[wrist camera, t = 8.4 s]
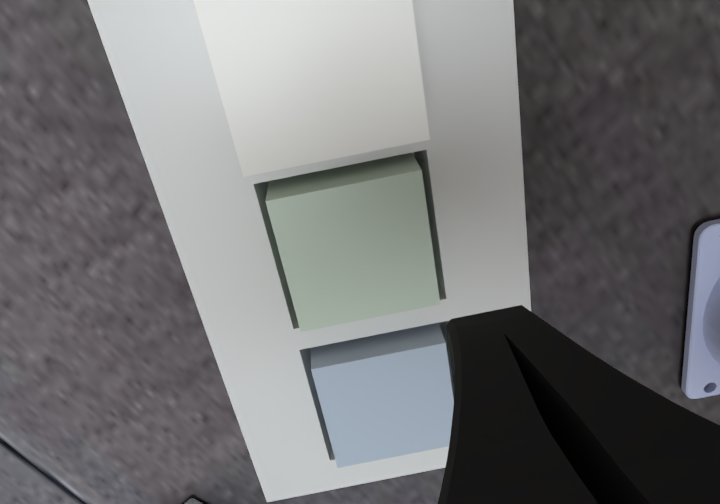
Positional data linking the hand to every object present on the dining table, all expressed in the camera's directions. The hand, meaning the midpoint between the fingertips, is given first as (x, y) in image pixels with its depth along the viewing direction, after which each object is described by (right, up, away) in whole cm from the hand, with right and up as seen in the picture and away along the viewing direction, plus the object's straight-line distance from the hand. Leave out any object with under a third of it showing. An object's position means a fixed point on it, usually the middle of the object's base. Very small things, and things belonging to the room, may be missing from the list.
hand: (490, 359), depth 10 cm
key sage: (-3, +3, +9) cm, 10 cm away
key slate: (-2, -2, +11) cm, 12 cm away
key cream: (-3, +7, +5) cm, 9 cm away
